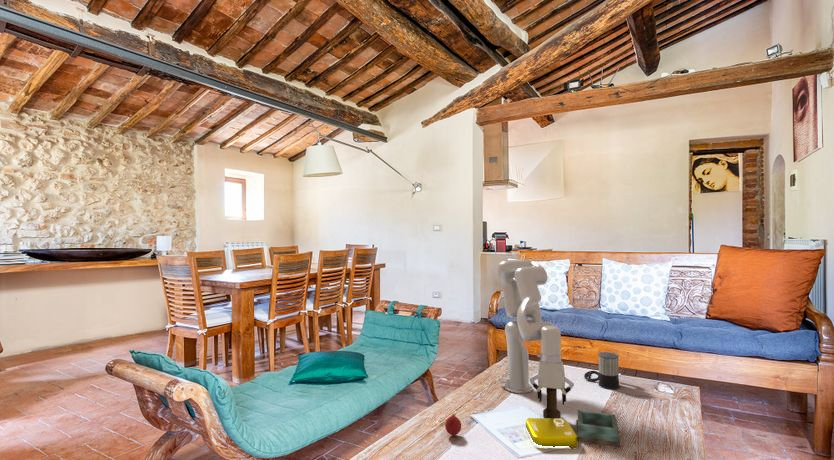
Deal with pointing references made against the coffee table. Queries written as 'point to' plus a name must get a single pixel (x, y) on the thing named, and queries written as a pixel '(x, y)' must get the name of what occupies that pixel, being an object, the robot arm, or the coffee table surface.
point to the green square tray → (597, 428)
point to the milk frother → (606, 371)
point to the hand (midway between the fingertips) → (551, 401)
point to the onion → (453, 425)
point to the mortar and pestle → (551, 404)
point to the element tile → (551, 432)
